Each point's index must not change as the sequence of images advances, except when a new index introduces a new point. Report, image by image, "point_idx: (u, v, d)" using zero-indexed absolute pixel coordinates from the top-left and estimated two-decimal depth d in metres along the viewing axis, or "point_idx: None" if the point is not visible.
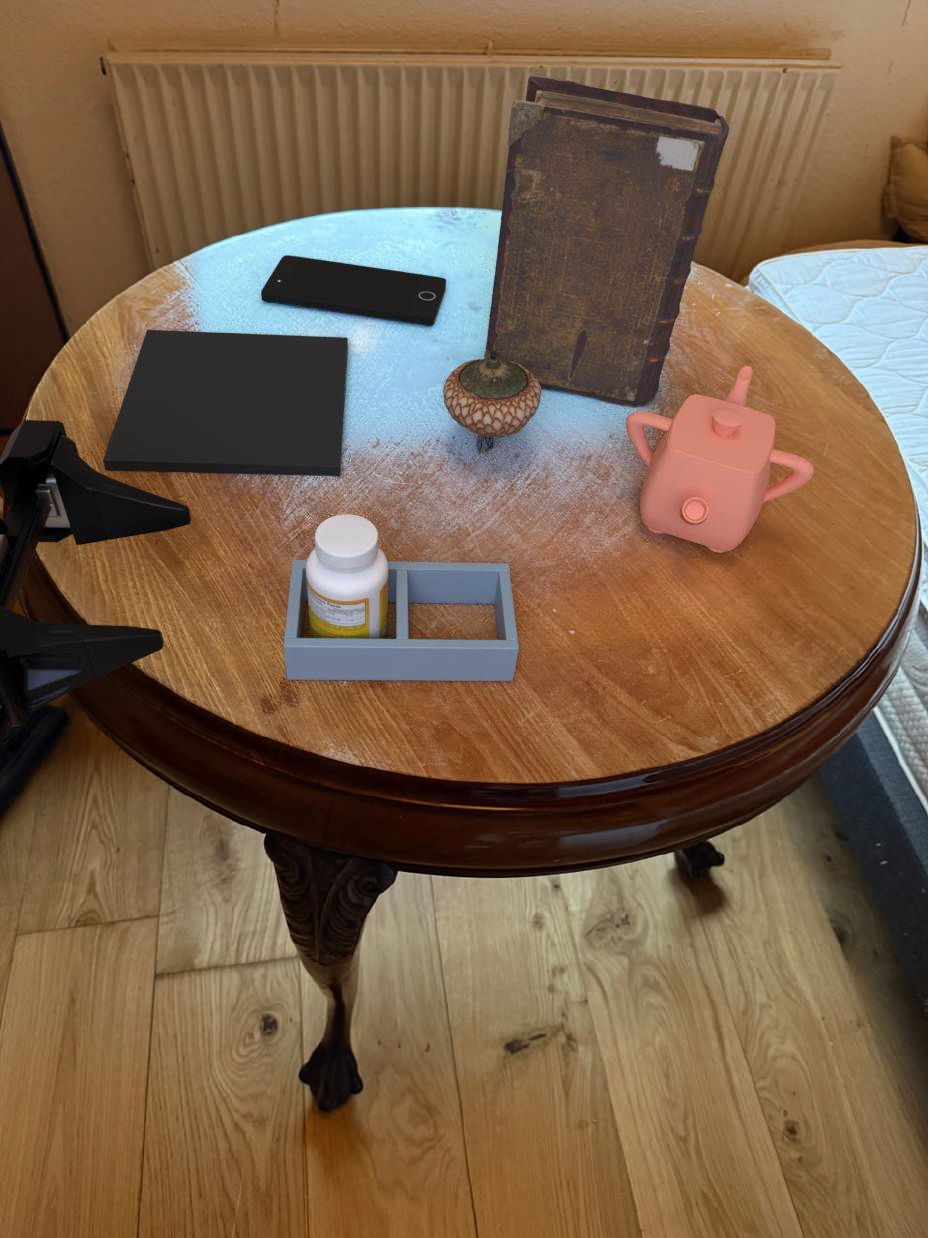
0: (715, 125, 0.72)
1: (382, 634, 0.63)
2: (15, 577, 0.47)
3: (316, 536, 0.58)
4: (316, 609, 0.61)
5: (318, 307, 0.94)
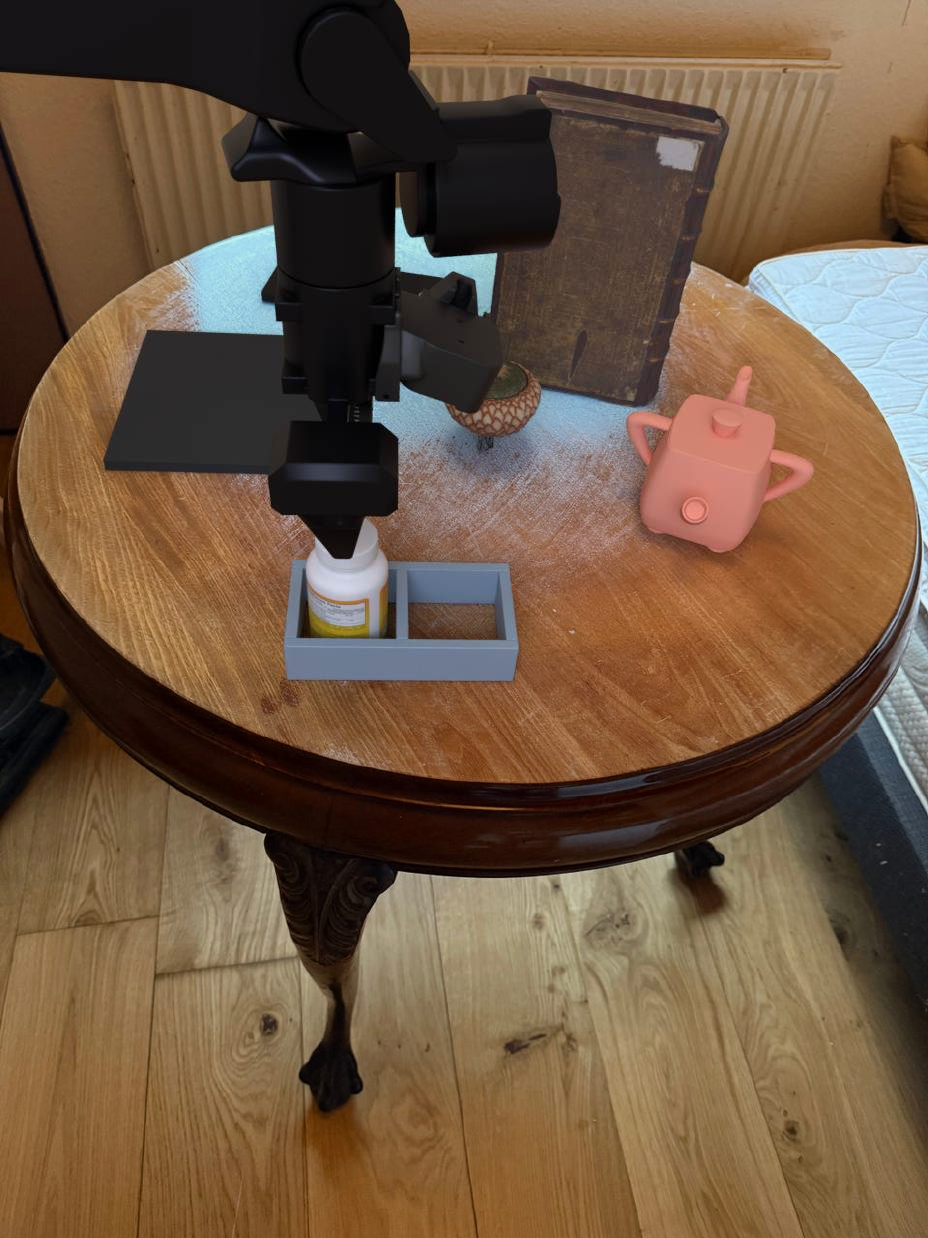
0: (715, 125, 0.72)
1: (382, 634, 0.63)
2: None
3: None
4: (316, 609, 0.61)
5: None
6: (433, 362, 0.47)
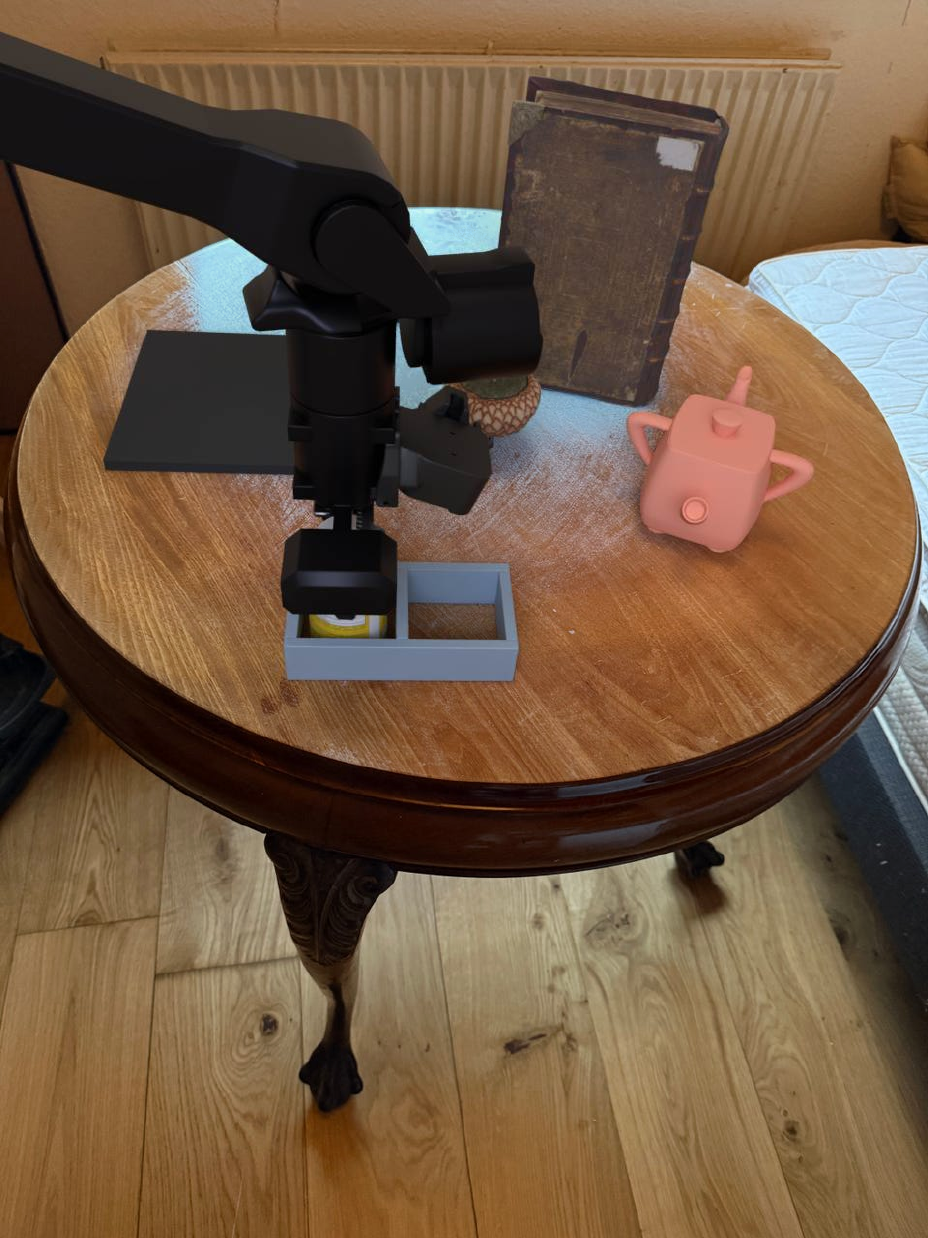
0: (715, 125, 0.72)
1: (382, 634, 0.63)
2: None
3: None
4: None
5: None
6: (428, 474, 0.52)
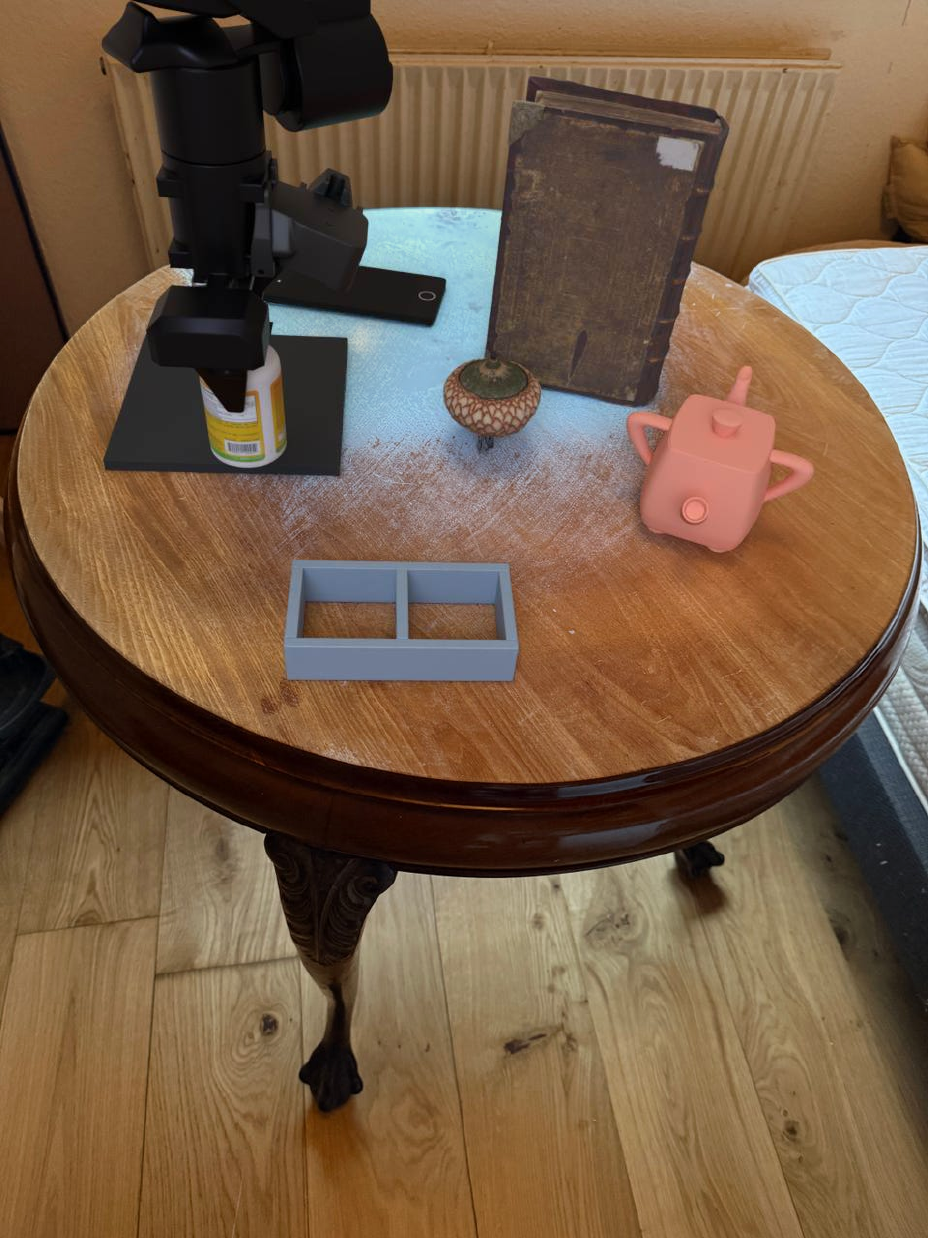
0: (715, 125, 0.72)
1: (278, 440, 0.64)
2: None
3: None
4: (208, 405, 0.62)
5: (318, 307, 0.94)
6: (301, 240, 0.53)
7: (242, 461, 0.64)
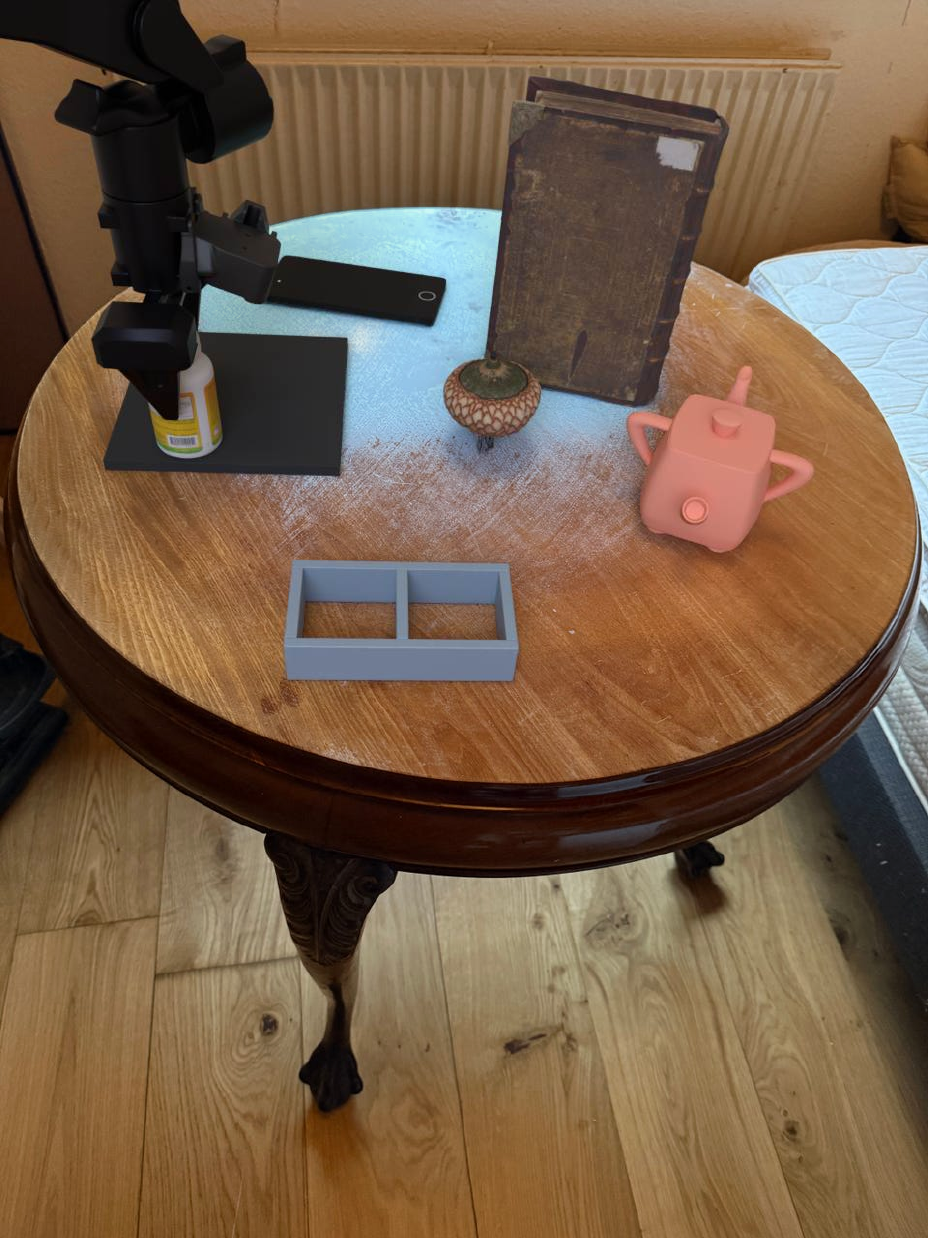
0: (715, 125, 0.72)
1: (214, 434, 0.75)
2: None
3: None
4: None
5: (318, 307, 0.94)
6: (221, 262, 0.64)
7: (183, 452, 0.75)
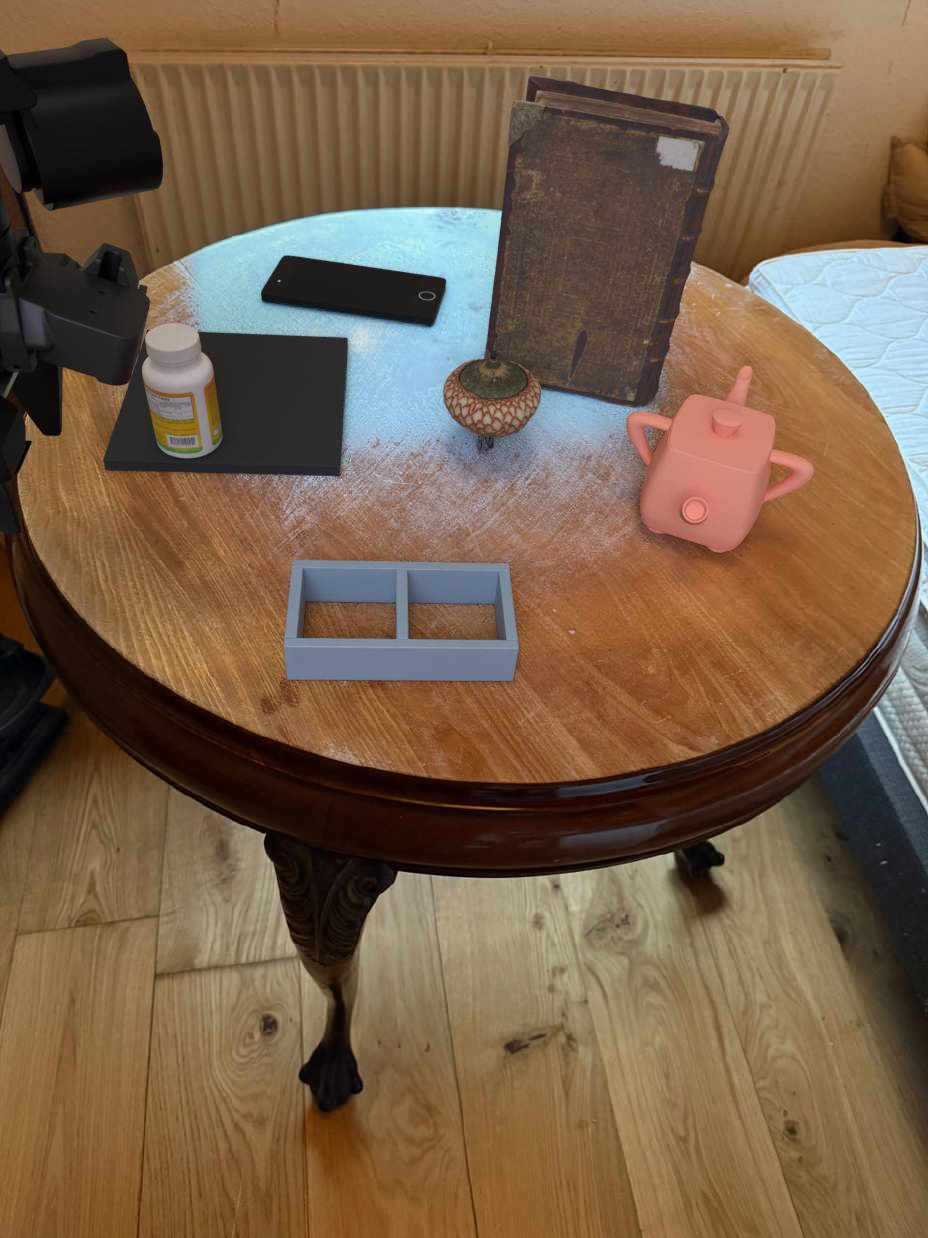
0: (715, 125, 0.72)
1: (214, 434, 0.75)
2: None
3: (146, 337, 0.70)
4: (152, 405, 0.73)
5: (318, 307, 0.94)
6: (59, 332, 0.46)
7: (183, 452, 0.75)
